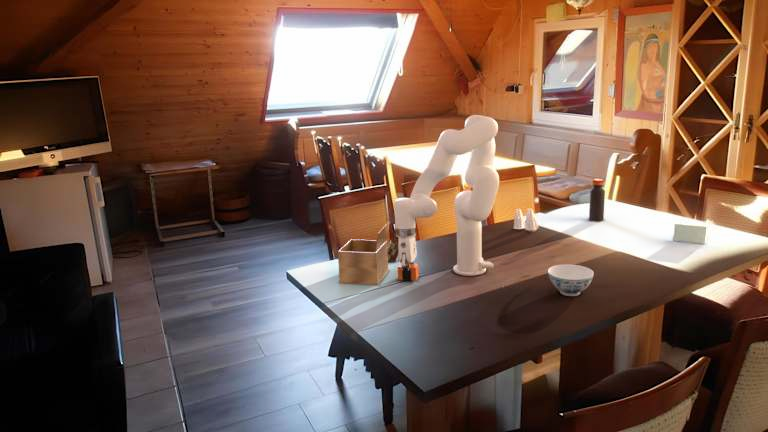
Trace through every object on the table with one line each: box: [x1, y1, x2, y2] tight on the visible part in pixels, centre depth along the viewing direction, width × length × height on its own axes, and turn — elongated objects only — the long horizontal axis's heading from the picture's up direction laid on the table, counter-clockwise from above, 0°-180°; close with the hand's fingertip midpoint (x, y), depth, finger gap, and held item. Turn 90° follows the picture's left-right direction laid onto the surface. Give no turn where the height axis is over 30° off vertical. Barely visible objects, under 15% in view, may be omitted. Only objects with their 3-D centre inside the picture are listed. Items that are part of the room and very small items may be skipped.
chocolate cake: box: [387, 239, 399, 263], centre depth 251 cm, size 10×7×12 cm
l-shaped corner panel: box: [673, 219, 710, 245], centre depth 258 cm, size 12×12×8 cm
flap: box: [376, 221, 391, 251], centre depth 225 cm, size 7×15×1 cm
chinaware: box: [547, 263, 595, 297], centre depth 206 cm, size 15×15×8 cm
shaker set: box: [513, 208, 539, 233], centre depth 281 cm, size 12×4×11 cm, turn 40°
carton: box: [337, 239, 389, 286], centre depth 230 cm, size 15×16×12 cm
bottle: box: [588, 178, 606, 222], centre depth 292 cm, size 7×7×20 cm
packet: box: [397, 262, 420, 281], centre depth 225 cm, size 7×4×5 cm, turn 75°
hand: (408, 276), depth 226 cm, fingers closed on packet, 4 cm apart
